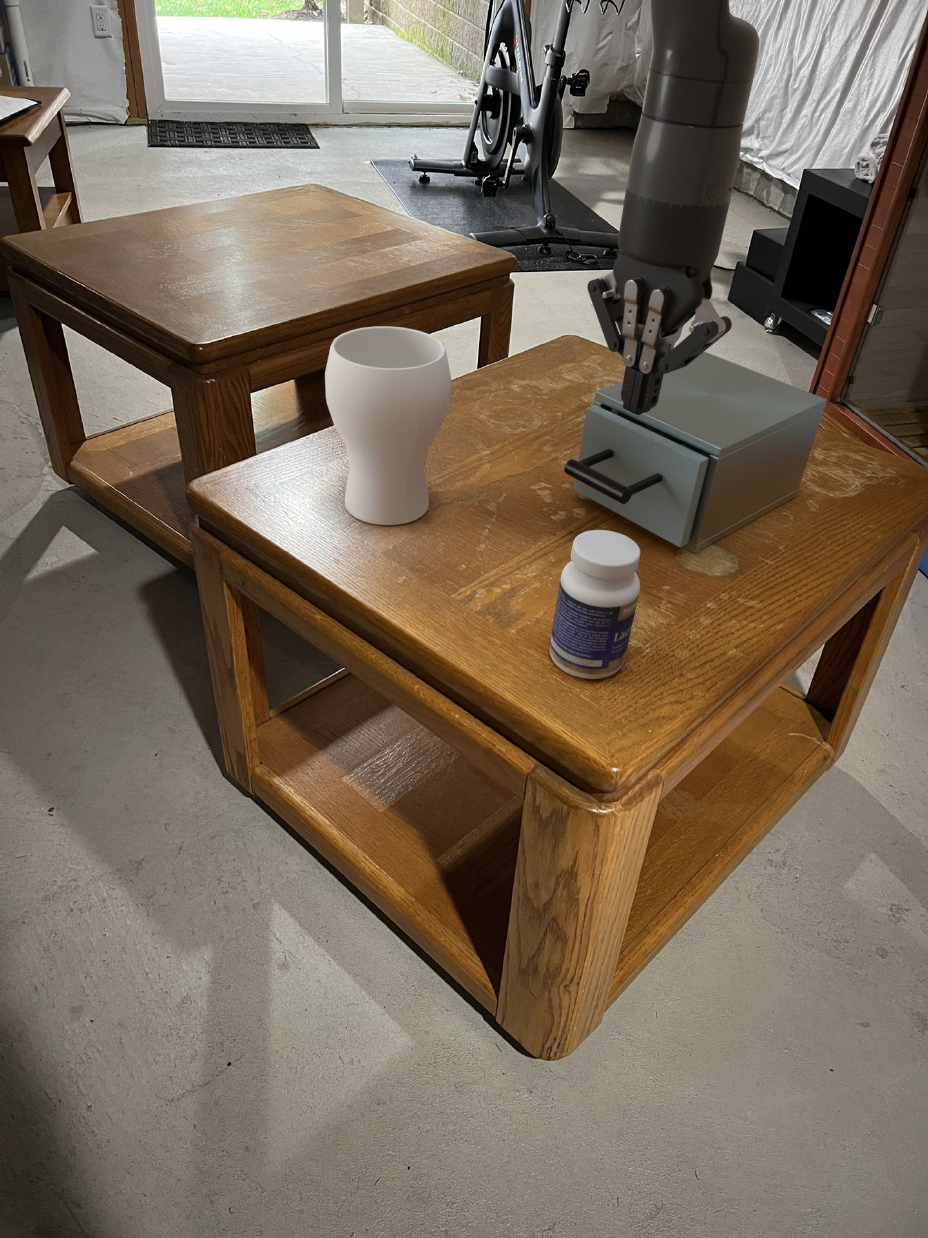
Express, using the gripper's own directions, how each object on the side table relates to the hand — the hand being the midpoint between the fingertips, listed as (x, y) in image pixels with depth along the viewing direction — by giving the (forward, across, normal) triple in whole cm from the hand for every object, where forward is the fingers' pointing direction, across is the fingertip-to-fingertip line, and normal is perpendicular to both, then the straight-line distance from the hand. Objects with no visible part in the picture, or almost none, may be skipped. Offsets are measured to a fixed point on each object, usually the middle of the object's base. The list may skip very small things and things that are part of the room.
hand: (636, 409), depth 78 cm
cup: (+12, +16, +14) cm, 24 cm away
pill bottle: (+12, -11, +16) cm, 22 cm away
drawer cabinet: (+12, 0, -11) cm, 16 cm away
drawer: (+11, 0, -6) cm, 13 cm away
